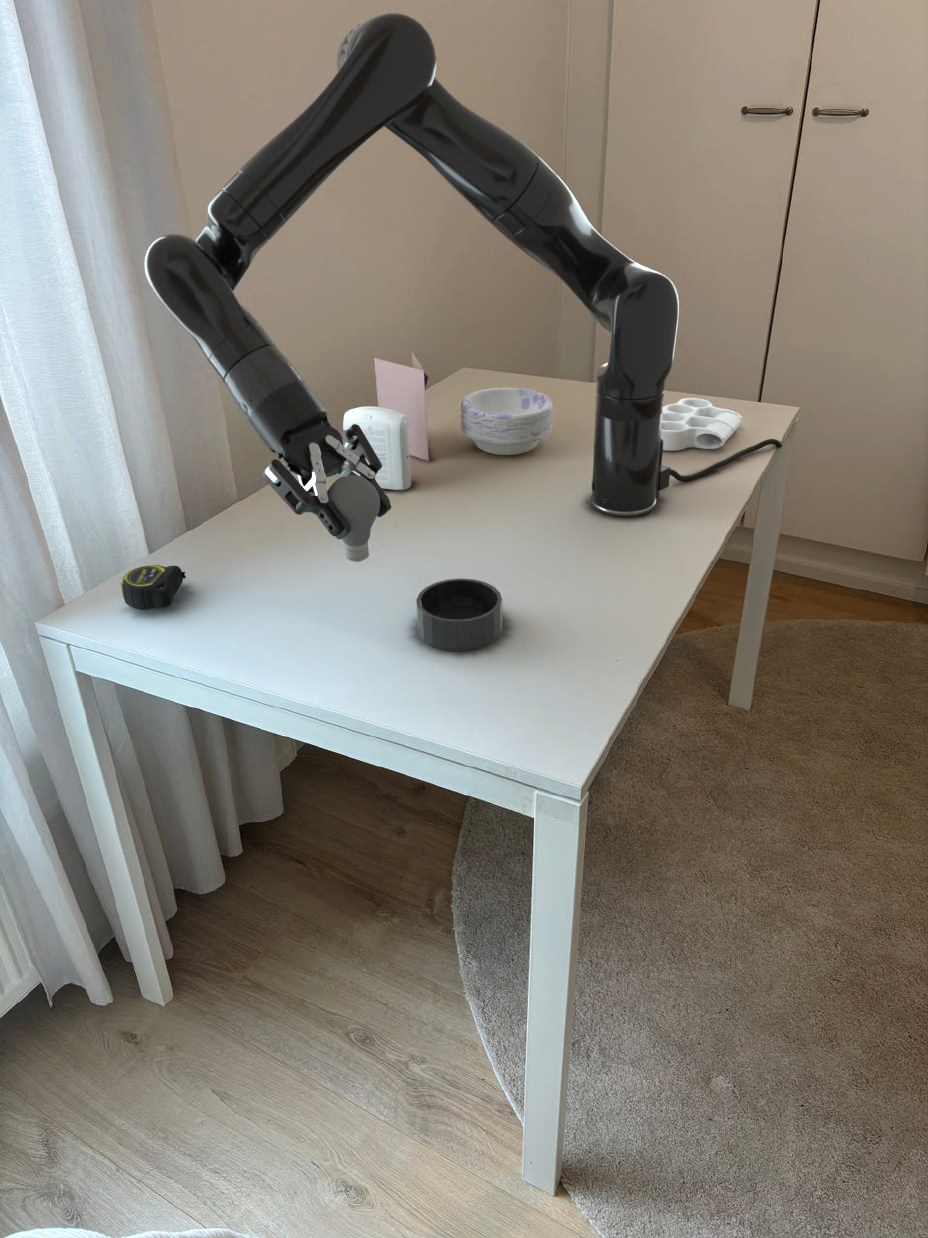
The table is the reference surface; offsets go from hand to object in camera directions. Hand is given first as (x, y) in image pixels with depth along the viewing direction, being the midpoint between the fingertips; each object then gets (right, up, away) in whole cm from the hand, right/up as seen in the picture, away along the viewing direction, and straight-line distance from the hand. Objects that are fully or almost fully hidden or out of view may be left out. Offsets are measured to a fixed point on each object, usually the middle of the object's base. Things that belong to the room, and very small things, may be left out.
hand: (365, 523), depth 104 cm
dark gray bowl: (+10, -12, +8) cm, 17 cm away
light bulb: (-1, -4, +4) cm, 5 cm away
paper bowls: (+18, +19, +57) cm, 62 cm away
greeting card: (+1, +18, +56) cm, 59 cm away
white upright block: (-2, +10, +45) cm, 46 cm away
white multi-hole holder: (+49, +21, +59) cm, 80 cm away
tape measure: (-28, -8, +16) cm, 33 cm away
